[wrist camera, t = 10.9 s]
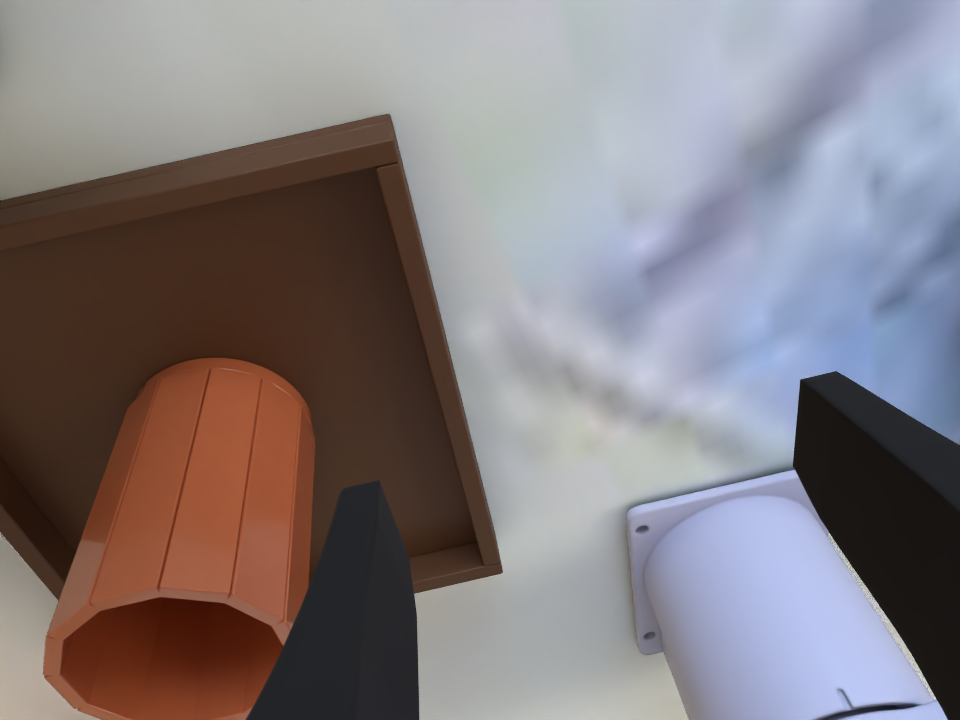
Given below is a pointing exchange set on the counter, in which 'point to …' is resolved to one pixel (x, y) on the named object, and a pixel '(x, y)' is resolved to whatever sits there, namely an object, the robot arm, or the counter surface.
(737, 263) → the counter surface
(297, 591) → the cup
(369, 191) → the tray
